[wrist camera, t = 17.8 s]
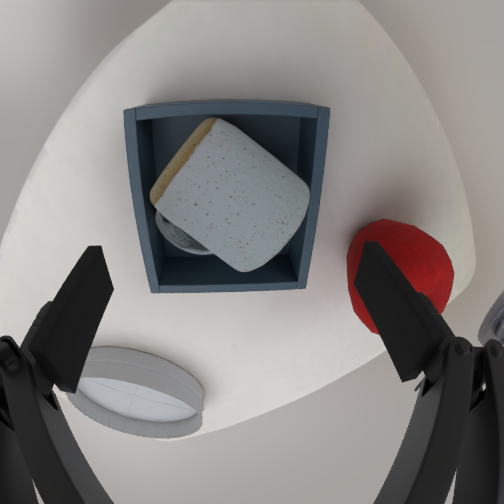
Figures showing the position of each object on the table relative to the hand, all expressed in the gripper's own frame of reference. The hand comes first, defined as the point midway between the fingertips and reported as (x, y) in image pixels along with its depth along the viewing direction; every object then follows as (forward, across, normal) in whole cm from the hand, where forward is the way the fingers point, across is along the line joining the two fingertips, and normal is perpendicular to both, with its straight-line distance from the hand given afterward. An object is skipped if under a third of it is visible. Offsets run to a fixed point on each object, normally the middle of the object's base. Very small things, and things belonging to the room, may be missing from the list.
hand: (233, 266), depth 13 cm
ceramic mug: (+10, -1, 0) cm, 10 cm away
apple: (+11, +14, -6) cm, 19 cm away
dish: (+11, -16, -32) cm, 37 cm away
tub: (+11, 0, 0) cm, 11 cm away
